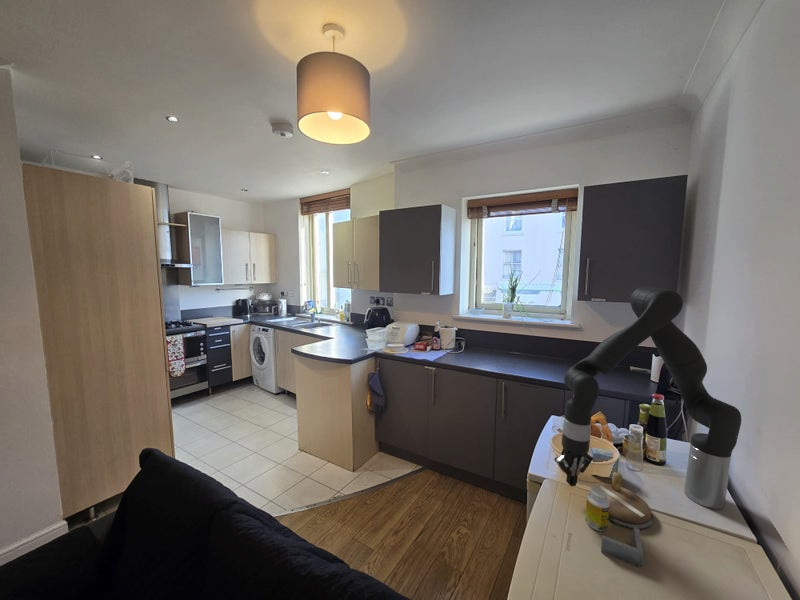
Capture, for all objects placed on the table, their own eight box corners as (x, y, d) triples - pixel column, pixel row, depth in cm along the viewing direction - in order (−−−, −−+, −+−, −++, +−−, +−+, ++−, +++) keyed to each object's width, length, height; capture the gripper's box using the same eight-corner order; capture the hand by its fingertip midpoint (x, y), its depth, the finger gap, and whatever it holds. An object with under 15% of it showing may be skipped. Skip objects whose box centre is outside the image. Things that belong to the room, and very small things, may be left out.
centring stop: (634, 539, 87) (636, 526, 86) (659, 561, 80) (660, 547, 80) (598, 549, 84) (599, 535, 83) (620, 572, 78) (622, 558, 77)
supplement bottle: (601, 535, 88) (604, 502, 87) (581, 521, 93) (583, 490, 91) (610, 526, 91) (614, 494, 90) (590, 513, 96) (593, 482, 94)
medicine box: (613, 472, 114) (615, 450, 113) (617, 481, 110) (619, 458, 109) (588, 468, 116) (590, 446, 115) (591, 475, 112) (593, 453, 111)
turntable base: (617, 485, 107) (617, 483, 107) (666, 524, 92) (667, 521, 92) (577, 494, 104) (578, 491, 103) (622, 535, 88) (622, 532, 88)
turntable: (580, 494, 102) (582, 476, 101) (612, 482, 107) (613, 465, 106) (629, 531, 88) (631, 511, 87) (662, 515, 93) (664, 496, 93)
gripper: (567, 443, 93) (562, 496, 95) (603, 437, 96) (598, 489, 98) (549, 429, 100) (545, 479, 102) (584, 425, 103) (579, 473, 106)
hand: (571, 484), depth 100 cm, fingers closed
